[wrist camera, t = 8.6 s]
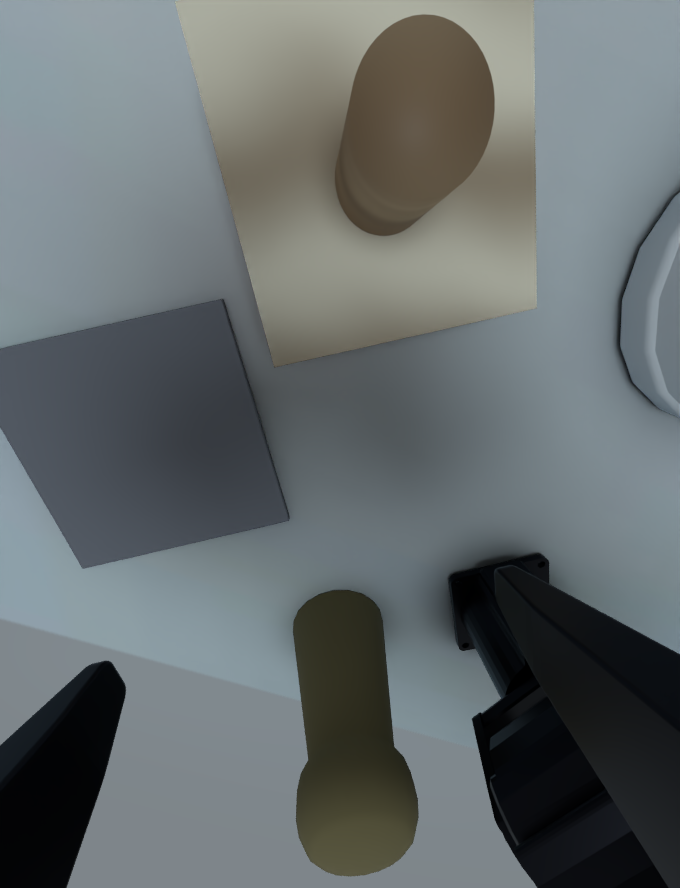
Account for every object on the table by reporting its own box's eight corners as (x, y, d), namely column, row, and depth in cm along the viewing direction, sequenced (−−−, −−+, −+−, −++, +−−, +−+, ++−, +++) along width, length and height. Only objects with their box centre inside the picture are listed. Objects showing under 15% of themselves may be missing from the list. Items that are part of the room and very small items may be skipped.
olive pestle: (276, 611, 23) (254, 850, 13) (363, 576, 23) (410, 792, 13) (315, 670, 25) (322, 915, 15) (394, 639, 25) (457, 868, 15)
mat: (289, 516, 21) (288, 520, 20) (86, 564, 21) (82, 568, 20) (223, 299, 17) (221, 299, 16) (-33, 356, 16) (-41, 357, 16)
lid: (524, 308, 14) (627, 306, 10) (276, 364, 14) (262, 388, 9) (517, -47, 11) (675, -315, 6) (184, 23, 10) (92, -198, 6)
